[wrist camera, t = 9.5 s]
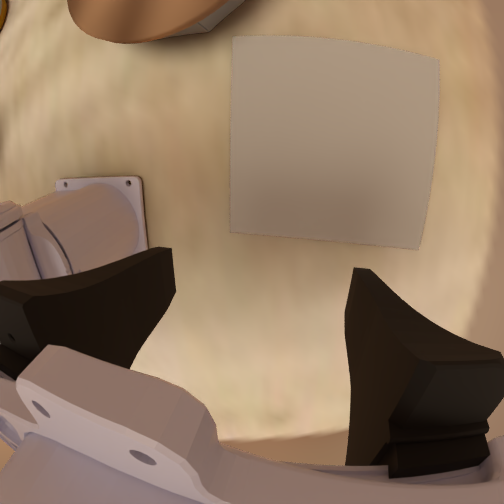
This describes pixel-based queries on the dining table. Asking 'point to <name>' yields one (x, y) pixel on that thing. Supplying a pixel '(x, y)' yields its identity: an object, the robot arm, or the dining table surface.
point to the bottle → (2, 12)
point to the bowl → (210, 19)
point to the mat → (331, 140)
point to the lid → (138, 17)
